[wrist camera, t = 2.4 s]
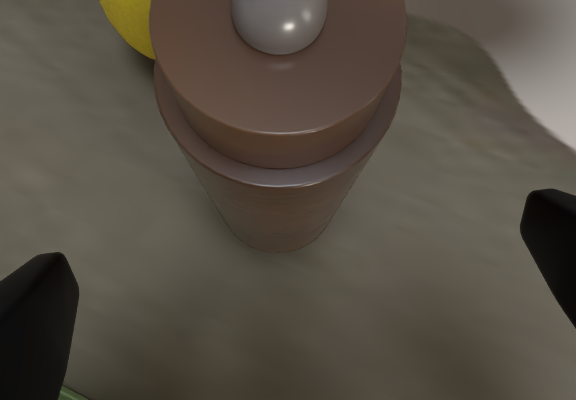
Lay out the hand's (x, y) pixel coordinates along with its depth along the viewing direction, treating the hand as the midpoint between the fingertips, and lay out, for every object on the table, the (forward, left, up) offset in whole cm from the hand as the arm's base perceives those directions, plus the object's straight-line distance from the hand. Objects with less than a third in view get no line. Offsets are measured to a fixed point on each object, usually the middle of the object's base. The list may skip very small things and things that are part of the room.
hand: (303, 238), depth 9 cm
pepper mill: (+3, +3, -11) cm, 11 cm away
